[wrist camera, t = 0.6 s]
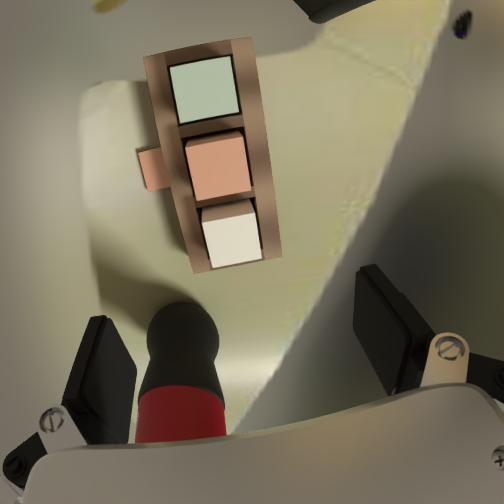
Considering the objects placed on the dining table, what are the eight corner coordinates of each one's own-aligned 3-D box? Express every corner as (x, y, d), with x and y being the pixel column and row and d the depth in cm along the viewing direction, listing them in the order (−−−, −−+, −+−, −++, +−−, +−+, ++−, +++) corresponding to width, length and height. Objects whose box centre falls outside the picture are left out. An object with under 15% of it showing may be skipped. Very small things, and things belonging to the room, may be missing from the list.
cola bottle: (150, 343, 40) (137, 577, 14) (149, 292, 36) (119, 573, 10) (214, 348, 41) (239, 579, 15) (221, 298, 38) (259, 576, 11)
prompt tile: (139, 152, 28) (138, 153, 28) (163, 146, 28) (162, 146, 28) (149, 190, 30) (148, 192, 30) (172, 185, 30) (171, 186, 30)
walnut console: (149, 60, 24) (143, 57, 22) (247, 41, 25) (251, 36, 22) (194, 258, 35) (193, 273, 32) (276, 242, 35) (282, 256, 32)
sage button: (174, 71, 24) (169, 67, 20) (226, 61, 24) (229, 56, 21) (183, 118, 26) (180, 123, 23) (234, 108, 26) (238, 111, 23)
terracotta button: (188, 140, 27) (185, 147, 24) (237, 130, 27) (242, 136, 24) (197, 186, 29) (196, 200, 26) (245, 177, 29) (251, 190, 26)
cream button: (202, 206, 30) (201, 223, 27) (248, 197, 30) (254, 212, 27) (211, 247, 32) (212, 268, 29) (255, 238, 33) (261, 258, 29)
